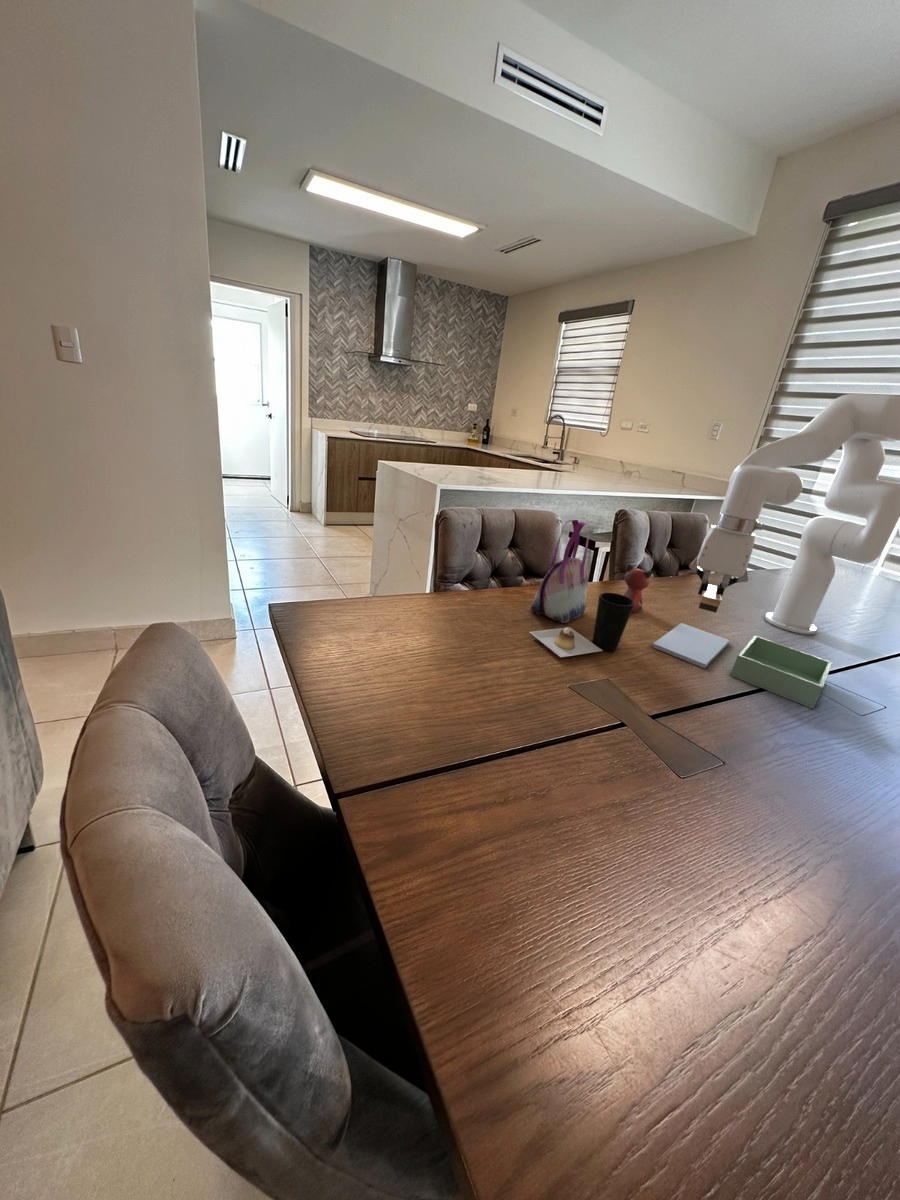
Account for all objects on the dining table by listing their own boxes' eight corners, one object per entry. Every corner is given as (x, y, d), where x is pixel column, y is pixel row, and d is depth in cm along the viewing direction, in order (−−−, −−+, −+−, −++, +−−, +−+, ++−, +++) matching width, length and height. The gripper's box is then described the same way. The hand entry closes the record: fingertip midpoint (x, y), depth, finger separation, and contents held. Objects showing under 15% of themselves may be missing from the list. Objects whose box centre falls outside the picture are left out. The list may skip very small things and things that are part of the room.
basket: (747, 653, 115) (755, 635, 113) (822, 681, 106) (832, 662, 104) (729, 675, 104) (737, 655, 102) (812, 708, 94) (823, 687, 92)
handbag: (550, 630, 115) (572, 530, 105) (518, 615, 121) (535, 519, 111) (593, 611, 129) (616, 522, 120) (562, 598, 135) (581, 513, 126)
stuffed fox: (606, 609, 131) (617, 569, 127) (619, 599, 140) (629, 561, 135) (633, 618, 127) (645, 577, 123) (644, 607, 136) (656, 568, 131)
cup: (623, 657, 106) (637, 608, 101) (588, 650, 107) (601, 602, 102) (618, 641, 113) (631, 596, 108) (586, 635, 114) (598, 590, 109)
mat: (680, 626, 126) (681, 622, 126) (728, 643, 119) (729, 640, 119) (651, 647, 112) (653, 643, 112) (704, 668, 105) (705, 664, 105)
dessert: (568, 631, 115) (572, 613, 114) (602, 655, 106) (607, 636, 104) (528, 636, 110) (531, 617, 108) (559, 661, 100) (564, 642, 99)
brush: (699, 594, 116) (703, 582, 115) (716, 598, 115) (720, 586, 113) (698, 608, 106) (702, 595, 105) (716, 612, 105) (721, 600, 104)
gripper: (774, 529, 105) (744, 604, 112) (697, 514, 111) (673, 586, 118) (778, 535, 99) (746, 614, 106) (696, 518, 105) (671, 594, 112)
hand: (708, 599), depth 112 cm, fingers closed on brush, 2 cm apart
